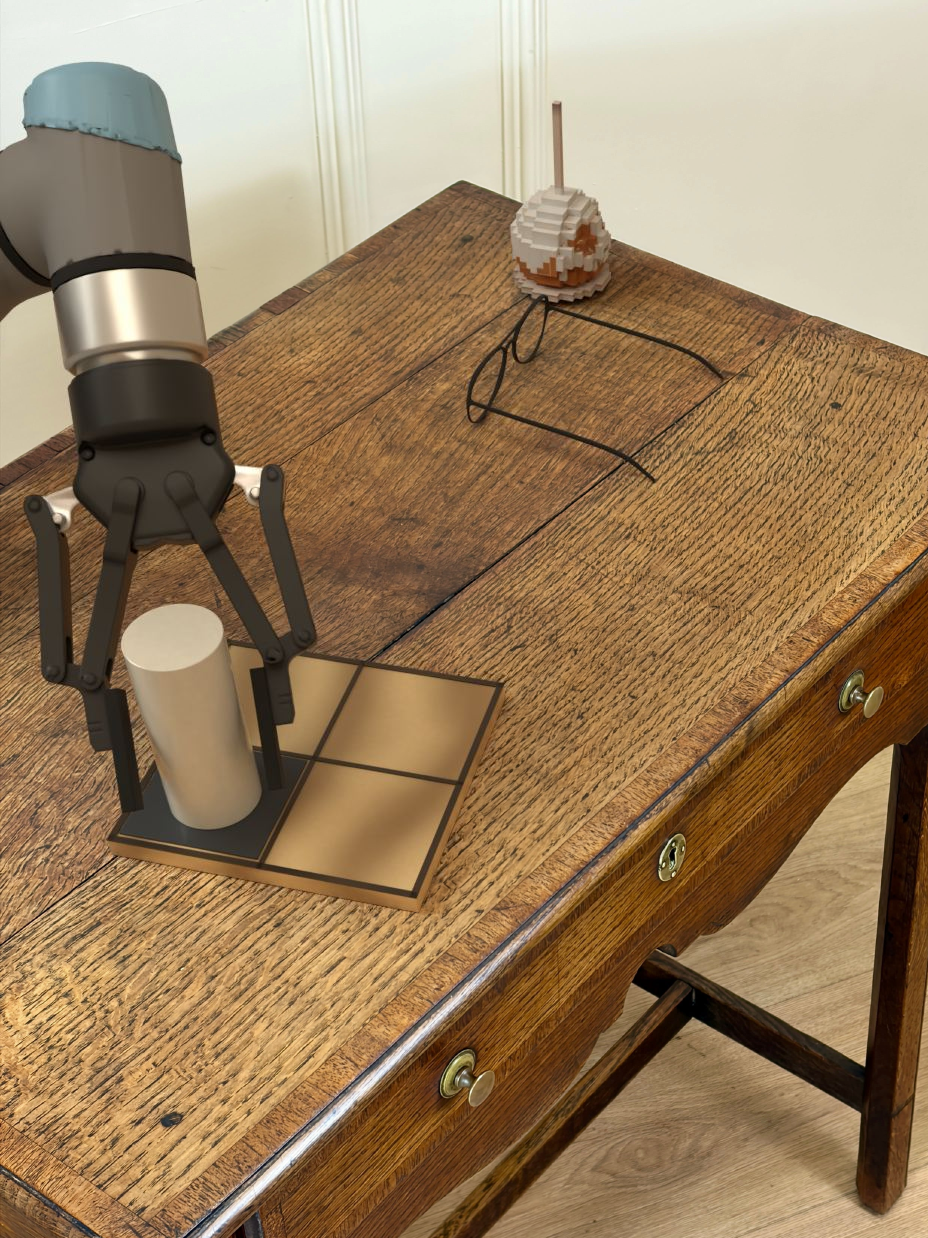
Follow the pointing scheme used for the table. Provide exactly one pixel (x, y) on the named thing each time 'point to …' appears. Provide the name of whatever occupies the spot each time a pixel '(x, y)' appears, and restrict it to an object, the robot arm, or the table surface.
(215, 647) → the cream cylinder
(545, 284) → the caramel apple
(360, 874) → the board
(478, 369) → the glasses
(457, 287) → the table surface
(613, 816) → the table surface
